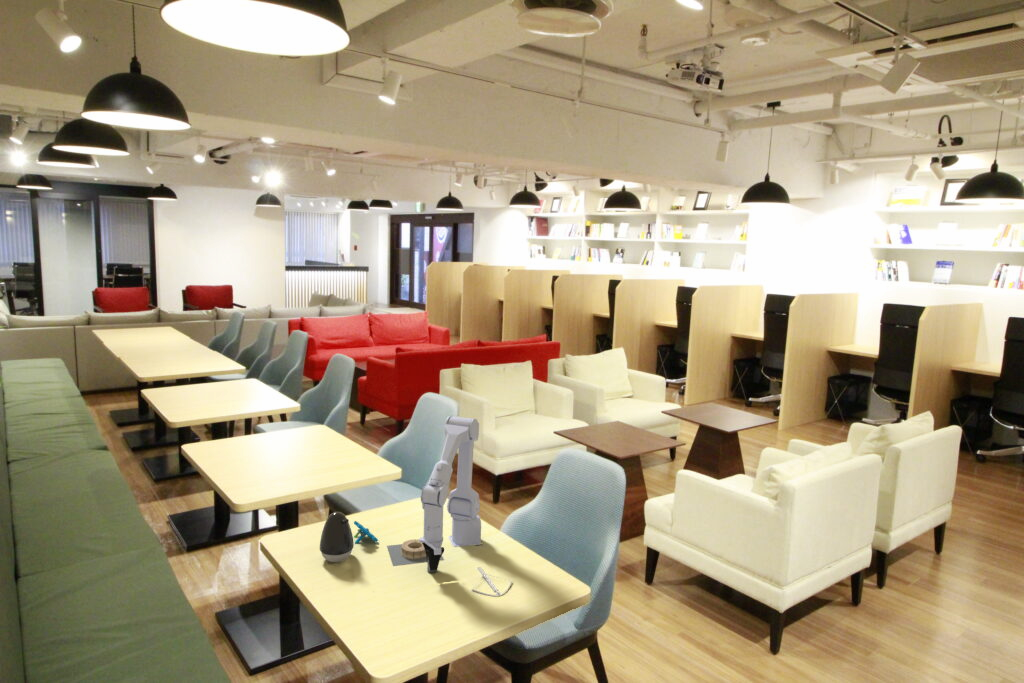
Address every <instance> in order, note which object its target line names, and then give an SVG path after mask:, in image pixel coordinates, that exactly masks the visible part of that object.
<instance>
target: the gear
mask: <svg viewBox="0 0 1024 683" xmlns="http://www.w3.org/2000/svg"><path fill="white" fill-rule="evenodd" d="M353 524H354V525H355V526H356V527H357V528H358V529H357V532H356V533H355V535H354V536H353V538H357V537H358V538H357V539H356V540H355V541H354V544H359V542H361V541H362V539H363V538H365V537H366V536H367V537H369V538H371V540H373V541H374V542H375V543H377V542H379V539H378V538H377V536H375V535H374V534H373V533H371V531H369V530H370V529H369V528H368V527H365V526H364V525H362V524H361V523H360V522H359V521H356V520H354V521H353Z"/></svg>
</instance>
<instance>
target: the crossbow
mask: <svg viewBox="0 0 1024 683" xmlns="http://www.w3.org/2000/svg"><path fill="white" fill-rule="evenodd" d="M477 570H478V571H479V573H480V574H481V577H480V578H479V580H478V581H477V582H476V584H478V583H479V582H480V580H481V579H482V578H483V579H484V581H485V582H486V583H487V585H488V586H489V588H491V590H492V591H493V593H494V594H491V593H486V592H483V591H481V590H477V589H474V588H476V585H473V587H472V588H471V592H473V593H474V592H475V593H477V594H480V595H485V596H488V595H489V596H490V597H496V596H498V597H501V595H502V596H504V595H505V594H506V593H508V591H509V590H510V588H511V587H512V584H513V580H509V579H504V578H501V577H500V579H501V580H504V581H508V582H510V584H509V585H508V587H507V588H506V590H505V591H504V592H502V593H500V591H499V589H498V588H497V586H495V585H494V583H493V581H492V580H491V579H490V577H489V576H491V577H492V575H491V574H487V573H486V572H485V571H484V569H483V567H482V566H478V567H477ZM493 577H494V578H499V576H494V575H493ZM510 586H511V587H510ZM508 589H509V590H508ZM495 593H496V594H495ZM503 594H504V595H503Z"/></svg>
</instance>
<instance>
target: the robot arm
mask: <svg viewBox="0 0 1024 683" xmlns="http://www.w3.org/2000/svg"><path fill="white" fill-rule="evenodd" d="M479 432H480V423H479V422H478V419H477V418H468V417H462V416H454V415H449V416H448V417H447V418H446V419H445V422H444V435H445V442H444V445H443V449H442V452H441V457H440V461H437V462H436V463H435V464H434V466H433V469H432V472H431V475H430V477H429V481H428V483H427V485H423V487H422V490H421V494H420V502H421V505H422V506H421V507H422V509H423V536H422V537H419V540H420V542H421V543H422V544H423V546H424V548H425V552H426V558H427V562H426V563H427V564H428V560H429V567H430V570H437V571H438V568H439V565H440V558H441V556H443V554H444V553H445V547H444V546H443V542H444V536H443V535H444V533H443V532H444V530H443V529H444V528H443V527H444V505H445V504H446V502H447V504H446V510H447V513H448V514H450V518H451V519H452V520H451V523H452V525H451V535H449V536H448V540H449V541H450V543H451V545H452V546H453V547H454V548H456V547H457V548H458V547H467V546H481V545H482V538H481V537H482V520H481V517H480V515H479V513H480V509H481V505H480V504H481V503H480V494H479V493H478V492H477V491H476V490H474V488H472V480H473V479H472V478H473V464H474V445H475V442H477V441H479V435H480V433H479ZM457 454H458V455H457ZM456 455H457V472H456V488H454V489H452V490H451V491H450V492H449V494H448V491H449V487H448V485H449V482H450V479H451V477H452V473H453V470H454V469H453V467H452V463H453V461H454V459H455V457H456ZM447 499H448V500H447ZM442 546H443V547H442Z"/></svg>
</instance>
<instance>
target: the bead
mask: <svg viewBox="0 0 1024 683" xmlns="http://www.w3.org/2000/svg"><path fill="white" fill-rule="evenodd" d="M401 544H402V545H401V554H402V556H403V557H405V558H408V559H420V558H423V557H425V556H426V552H425V548H424V546H423V544H422V543H421V542H420V539H419V538H418V539H409V540H405V541H403V542H402V543H401Z"/></svg>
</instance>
